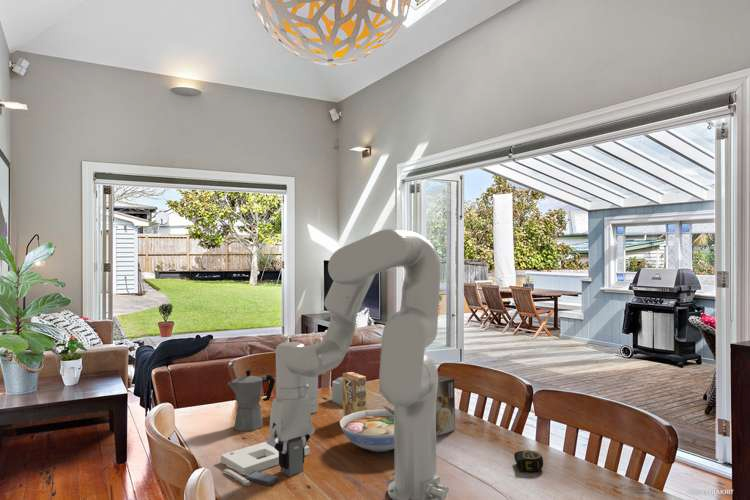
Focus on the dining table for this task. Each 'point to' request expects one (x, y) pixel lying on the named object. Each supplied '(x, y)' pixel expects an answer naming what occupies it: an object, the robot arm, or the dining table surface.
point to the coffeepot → (250, 400)
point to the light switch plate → (254, 458)
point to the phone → (262, 478)
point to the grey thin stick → (237, 476)
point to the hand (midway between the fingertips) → (291, 464)
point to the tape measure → (528, 460)
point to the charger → (294, 457)
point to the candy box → (354, 393)
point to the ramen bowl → (370, 429)
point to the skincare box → (312, 393)
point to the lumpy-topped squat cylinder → (339, 390)
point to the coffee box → (445, 405)
